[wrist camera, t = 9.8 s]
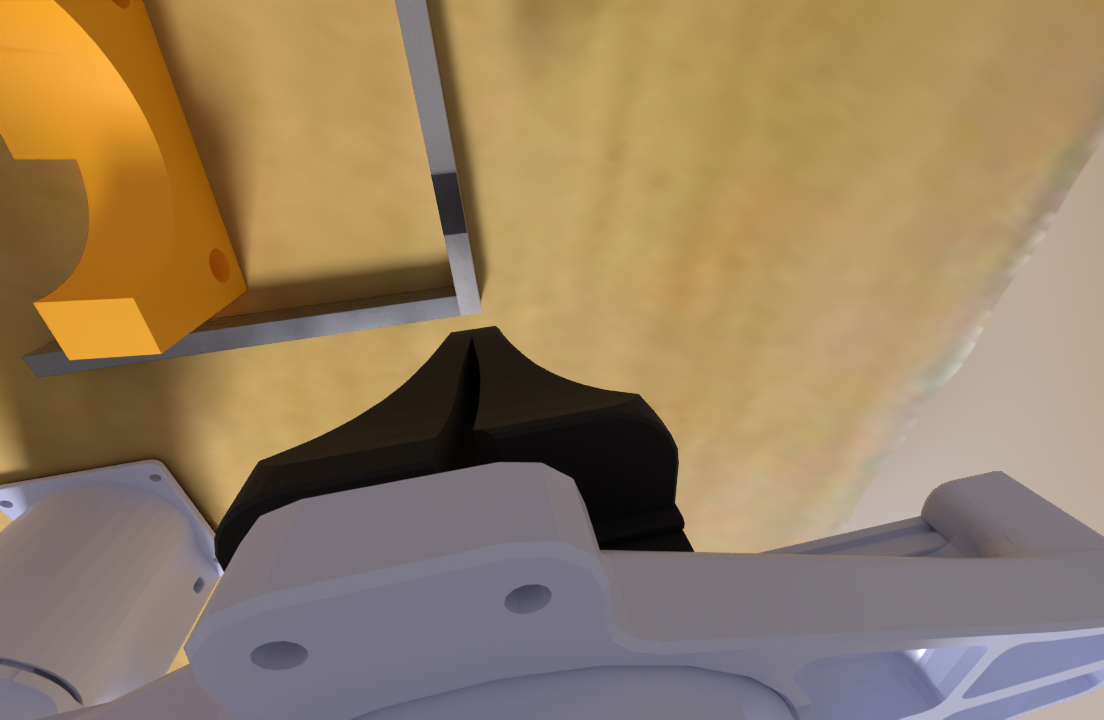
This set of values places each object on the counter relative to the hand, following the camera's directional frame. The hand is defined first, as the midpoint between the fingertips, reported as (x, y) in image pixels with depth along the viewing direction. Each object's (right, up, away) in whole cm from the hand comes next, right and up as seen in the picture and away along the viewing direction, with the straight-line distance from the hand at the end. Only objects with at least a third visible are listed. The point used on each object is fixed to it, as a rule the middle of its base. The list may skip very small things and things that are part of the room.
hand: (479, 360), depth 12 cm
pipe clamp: (-14, +8, +4) cm, 17 cm away
